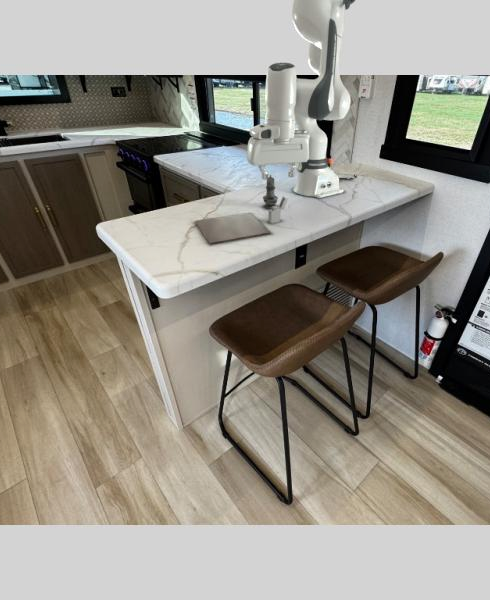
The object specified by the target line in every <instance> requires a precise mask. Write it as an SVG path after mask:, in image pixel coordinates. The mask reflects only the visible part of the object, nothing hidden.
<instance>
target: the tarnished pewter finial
mask: <svg viewBox="0 0 490 600" xmlns="http://www.w3.org/2000/svg"><path fill="white" fill-rule="evenodd" d="M265 189H266V193H265V195H263V196H262V199H263V203H264V205H263V208H264V209H266V210H270V209H271V208H272V207H273V206H277V202H278V199H279V197H278V196H276V193H275V189H276V187H275V178H274V177H272V174H270V175H269V176H268V179H266V186H265Z"/></svg>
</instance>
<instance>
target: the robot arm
mask: <svg viewBox="0 0 490 600" xmlns="http://www.w3.org/2000/svg"><path fill="white" fill-rule="evenodd" d="M355 1H356V0H293V4H292V11H291V13H292V14H291V19H292V23H293V26H294V28H295V30H296V32H297V33H298V34H299V36H301V38H303V39H304V40H305V41H307V42H309V47H308V55H307V62H308V65H309V67H310V69H311V70H312V71H313V72H314V73H316V74H317V75H318V77H317V78H315V79H308V78H298V77H297V70H296V66H295V64H293V63H290V62H275V63H272V64H270V65H269V66H268V68H267V72H266V79H265V91H264V92H265V93H264V95H265V97H264V98H265V100H264V101H265V106H266V111H265V116H264V119H265V120H264V122H262V123H260V124H257V125H255V126H253V127H250V128H249V135H250V136H251V137H250V138H249V140H248V142H247V148H246V149H247V152H246V160H247V162H248V163H249V164H250V165H251V166H253V167H254V166H255V167H256V166H258V170H259V171H260V172H261V179H262V180H264V181H267V179H268V177H269V173H268V172H266V170H265V169H266V166H267V165H270V166H271V165H282V164H283V165H284V164H291V168H290V170H287V171H288V172H287V173H288V174H287V177H289V178H295V173H296V171H297V173H296V179H295V183H294V186H293V189H292V190H293V192H294V193H295V194H297V195H300V196H306V197H314V198H317V199H321V198H326V197H330V196H334V195H337V194H342V193H344V192H345V191H344V188H343V187H342V186H341V185H340V181H352V180H354V179H355V178H358V176H357V175H356V174H353V176H355V175H356V176H355V177H354V178H352V177H349V178H350V179H347V178H348V177H339V175H337V173H336V171H335V170H333V169H331V167H329V165H333V164H334V159H333V158H328V157H327V148H328V137H327V134H326V133H325V132H324V131H323V130H322V129H321V128H320V127H319V125H318V123H317V121H322V120H323V121H324V120H325V121H336V120H337V121H338V120H342V119H344V118H345V117H346V116H347V114H348V113H349V111H350V108H351V101H352V99H351V96H350V92H349V90H348V89H347V88H346V86H345V85H344V83H343V82H342V79H341V74H340V57H341V50H342V49H341V47H342V43H343V38H344V36H343V35H344V29H345V11H347V10H349V9H350V7H351V5H352V4H353V3H355ZM296 128H297V129H296Z"/></svg>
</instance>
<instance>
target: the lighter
mask: <svg viewBox="0 0 490 600" xmlns="http://www.w3.org/2000/svg"><path fill="white" fill-rule="evenodd" d="M288 201H289V198H288V197H286V196H282V197H281V199H280V202H279V204H278V206H277V205H276V206H273V207H272V208H271V209H268V223H270V224H274V223H275V224H276V223H279V222H281V217H282V216H281V215H282V212H281V211H285V208H286V206H287V204H288Z"/></svg>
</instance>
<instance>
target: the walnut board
mask: <svg viewBox="0 0 490 600" xmlns="http://www.w3.org/2000/svg"><path fill="white" fill-rule="evenodd" d="M194 222H195V224H196V225H197V227H198V228H199V230H200V231H201V233H202V235H203V236H204V238H205V239H206V240H207V242H208V244H209V245H210V246H211V245H217V244H222V243H229V242H233V241H239V240H244V239H251V238H256V237H261V236H266V235H270V234H271V231H270V230H269V229H268V228H267V227H265V225H264V224H263V223H261V221H260V220H258V219H257V218H256V217H255V216H254V215H253V214H252V213H251V212H246V213H238V214H233V215H232V214H231V215H225V216H218V217H211V218H205V219H197V220H194Z"/></svg>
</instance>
